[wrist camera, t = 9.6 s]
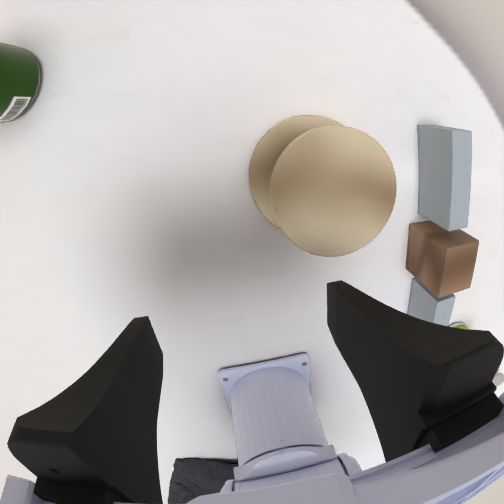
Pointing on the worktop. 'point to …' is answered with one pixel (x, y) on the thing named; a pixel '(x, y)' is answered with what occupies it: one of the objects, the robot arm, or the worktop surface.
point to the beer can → (17, 81)
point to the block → (441, 257)
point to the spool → (323, 184)
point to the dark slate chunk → (197, 479)
